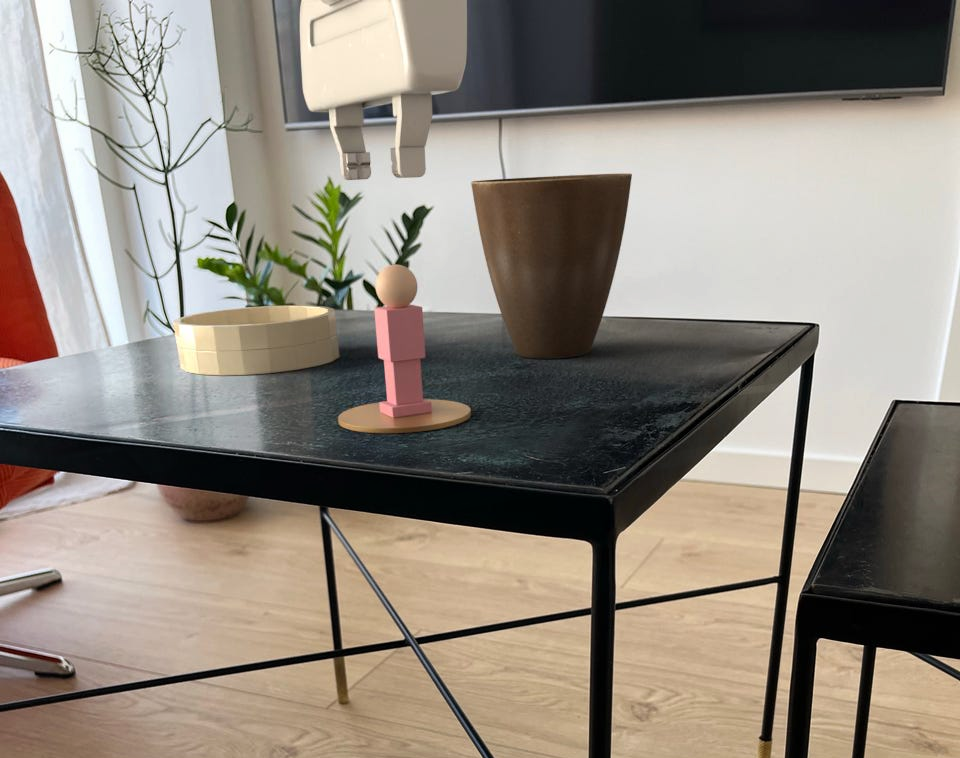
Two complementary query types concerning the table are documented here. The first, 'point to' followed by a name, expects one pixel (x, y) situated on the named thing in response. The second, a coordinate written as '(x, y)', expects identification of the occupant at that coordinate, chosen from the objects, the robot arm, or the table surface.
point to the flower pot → (552, 256)
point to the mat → (404, 418)
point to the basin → (256, 339)
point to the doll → (400, 342)
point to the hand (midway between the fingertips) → (381, 178)
